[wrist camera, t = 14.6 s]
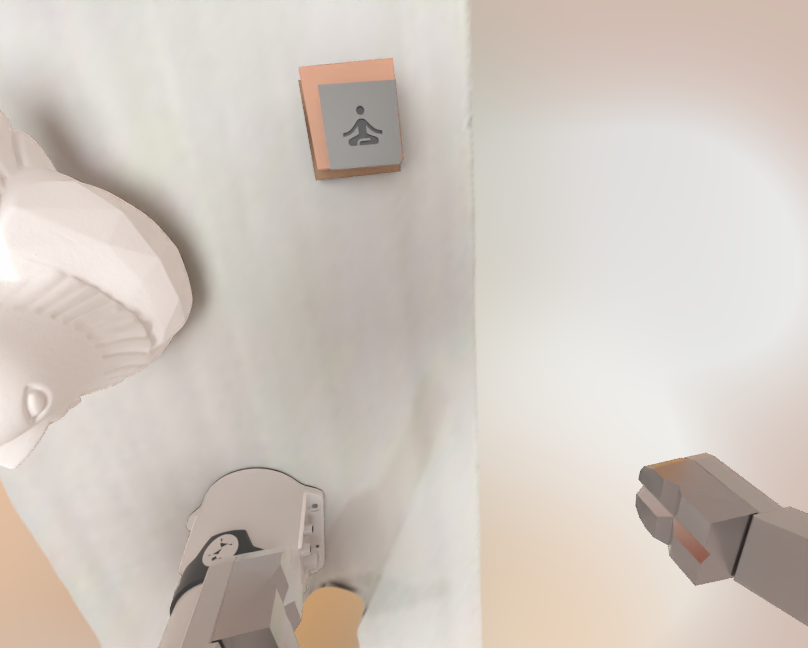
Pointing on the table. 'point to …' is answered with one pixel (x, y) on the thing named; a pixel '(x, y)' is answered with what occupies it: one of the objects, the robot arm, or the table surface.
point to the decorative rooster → (74, 292)
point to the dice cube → (361, 124)
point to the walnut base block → (346, 172)
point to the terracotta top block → (335, 75)
